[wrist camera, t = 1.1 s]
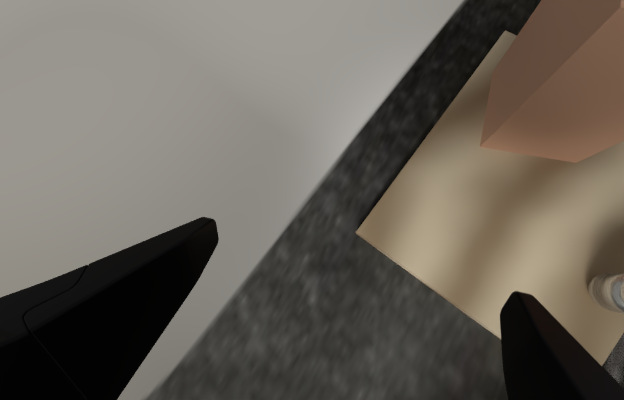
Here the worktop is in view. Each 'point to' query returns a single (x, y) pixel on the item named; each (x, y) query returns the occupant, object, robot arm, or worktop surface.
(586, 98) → the sleeve
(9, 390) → the robot arm
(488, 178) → the board
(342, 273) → the worktop surface
